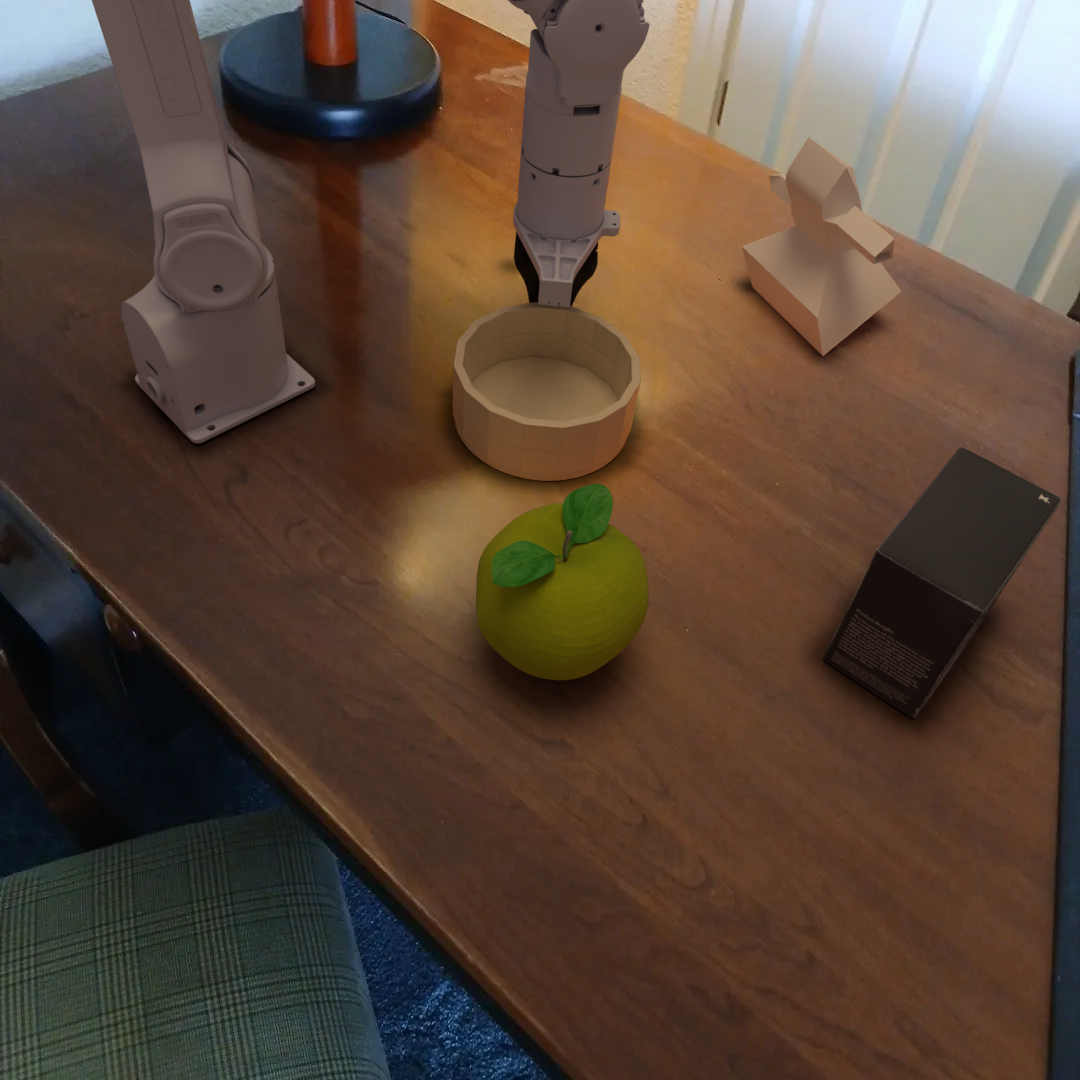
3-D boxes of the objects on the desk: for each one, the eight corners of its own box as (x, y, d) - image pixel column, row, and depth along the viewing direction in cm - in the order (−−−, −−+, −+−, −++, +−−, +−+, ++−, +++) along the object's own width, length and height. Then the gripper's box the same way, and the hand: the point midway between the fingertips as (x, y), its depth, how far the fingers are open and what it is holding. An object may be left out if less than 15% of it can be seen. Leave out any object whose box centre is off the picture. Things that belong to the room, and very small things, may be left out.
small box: (896, 555, 67) (959, 438, 59) (990, 611, 65) (1070, 497, 57) (814, 657, 61) (873, 544, 53) (914, 723, 59) (991, 614, 51)
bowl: (536, 509, 67) (542, 455, 63) (417, 405, 72) (416, 349, 68) (665, 427, 73) (678, 372, 69) (546, 336, 78) (552, 281, 74)
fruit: (438, 642, 60) (439, 529, 52) (550, 556, 65) (566, 441, 57) (554, 746, 56) (573, 641, 49) (664, 647, 61) (697, 537, 53)
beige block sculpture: (794, 242, 89) (843, 84, 78) (904, 341, 81) (974, 182, 71) (713, 265, 86) (752, 104, 75) (819, 370, 78) (879, 208, 68)
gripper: (631, 224, 61) (602, 397, 71) (628, 100, 70) (603, 269, 81) (511, 213, 61) (499, 388, 71) (523, 90, 70) (511, 261, 80)
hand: (547, 325), depth 76 cm, fingers closed
